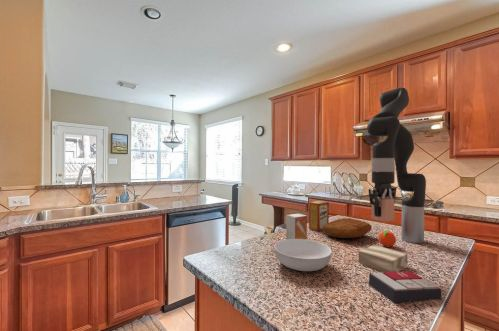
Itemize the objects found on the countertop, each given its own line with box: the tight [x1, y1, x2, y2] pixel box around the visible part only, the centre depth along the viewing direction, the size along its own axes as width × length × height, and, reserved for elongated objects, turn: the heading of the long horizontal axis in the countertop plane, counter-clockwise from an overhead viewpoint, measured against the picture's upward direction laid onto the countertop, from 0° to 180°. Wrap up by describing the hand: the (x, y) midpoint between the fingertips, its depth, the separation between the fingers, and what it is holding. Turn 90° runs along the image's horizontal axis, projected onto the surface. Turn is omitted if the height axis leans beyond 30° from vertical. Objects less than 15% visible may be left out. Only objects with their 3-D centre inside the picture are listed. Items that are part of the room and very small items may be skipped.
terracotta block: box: [370, 197, 395, 222], centre depth 90 cm, size 6×6×8 cm
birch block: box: [358, 244, 408, 273], centre depth 90 cm, size 12×12×5 cm
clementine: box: [378, 230, 397, 248], centre depth 110 cm, size 8×7×7 cm
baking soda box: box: [308, 200, 330, 233], centre depth 140 cm, size 10×6×16 cm
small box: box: [285, 213, 308, 240], centre depth 116 cm, size 8×6×13 cm
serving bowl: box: [273, 239, 333, 272], centre depth 89 cm, size 21×21×7 cm
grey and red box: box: [368, 270, 443, 305], centre depth 71 cm, size 11×4×15 cm
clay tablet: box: [323, 217, 372, 239], centre depth 125 cm, size 22×17×8 cm
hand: (382, 215), depth 90 cm, fingers closed on terracotta block, 5 cm apart
